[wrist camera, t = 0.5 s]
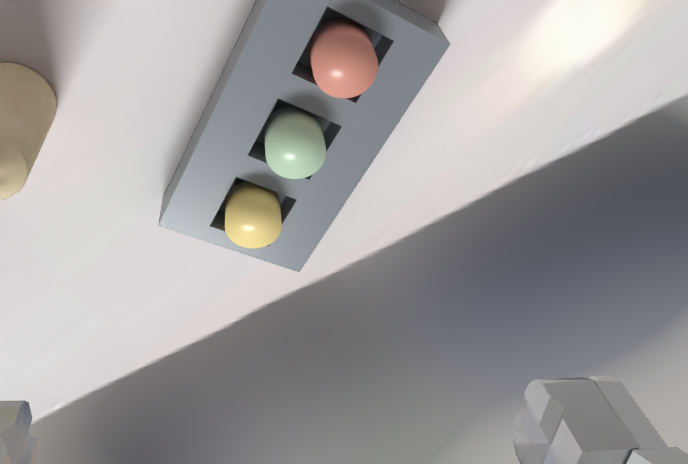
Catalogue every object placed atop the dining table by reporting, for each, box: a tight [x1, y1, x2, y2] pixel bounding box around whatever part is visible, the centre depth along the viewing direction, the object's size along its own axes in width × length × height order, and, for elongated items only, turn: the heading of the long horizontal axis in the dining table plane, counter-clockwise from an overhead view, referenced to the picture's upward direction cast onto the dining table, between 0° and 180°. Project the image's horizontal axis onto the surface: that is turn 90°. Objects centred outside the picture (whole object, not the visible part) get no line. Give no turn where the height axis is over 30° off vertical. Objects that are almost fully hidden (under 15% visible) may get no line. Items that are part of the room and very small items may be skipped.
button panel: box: [158, 0, 450, 272], centre depth 48 cm, size 22×12×4 cm, turn 150°
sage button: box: [264, 106, 326, 179], centre depth 47 cm, size 4×4×3 cm
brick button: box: [309, 19, 378, 98], centre depth 43 cm, size 4×4×3 cm
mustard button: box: [225, 181, 282, 248], centre depth 50 cm, size 4×4×3 cm
